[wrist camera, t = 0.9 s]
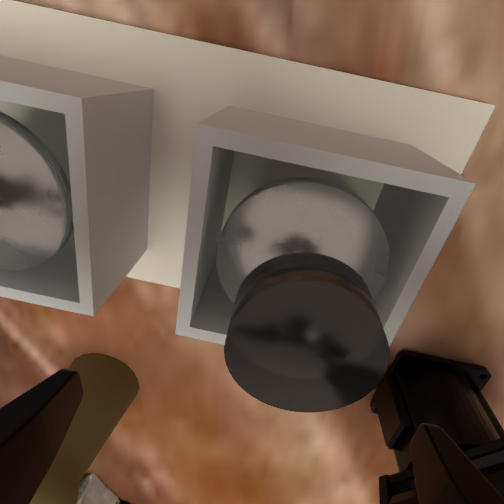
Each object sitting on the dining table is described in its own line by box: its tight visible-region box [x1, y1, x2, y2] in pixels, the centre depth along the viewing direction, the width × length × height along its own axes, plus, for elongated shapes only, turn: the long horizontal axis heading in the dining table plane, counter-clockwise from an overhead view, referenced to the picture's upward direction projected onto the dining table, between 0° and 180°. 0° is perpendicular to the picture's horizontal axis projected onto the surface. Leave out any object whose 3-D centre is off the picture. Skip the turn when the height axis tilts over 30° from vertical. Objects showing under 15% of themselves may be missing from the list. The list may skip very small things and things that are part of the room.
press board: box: [0, 0, 496, 346], centre depth 16 cm, size 28×14×8 cm, turn 79°
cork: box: [30, 353, 139, 504], centre depth 24 cm, size 6×6×11 cm
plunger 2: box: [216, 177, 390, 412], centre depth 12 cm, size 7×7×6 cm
